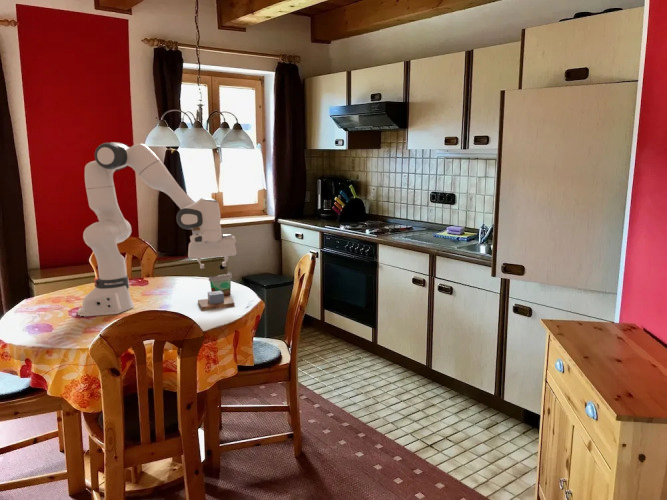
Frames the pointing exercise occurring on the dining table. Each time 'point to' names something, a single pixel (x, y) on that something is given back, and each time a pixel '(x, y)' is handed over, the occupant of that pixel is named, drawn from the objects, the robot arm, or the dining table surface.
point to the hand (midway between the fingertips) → (213, 267)
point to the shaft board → (206, 305)
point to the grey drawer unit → (215, 297)
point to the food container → (221, 283)
